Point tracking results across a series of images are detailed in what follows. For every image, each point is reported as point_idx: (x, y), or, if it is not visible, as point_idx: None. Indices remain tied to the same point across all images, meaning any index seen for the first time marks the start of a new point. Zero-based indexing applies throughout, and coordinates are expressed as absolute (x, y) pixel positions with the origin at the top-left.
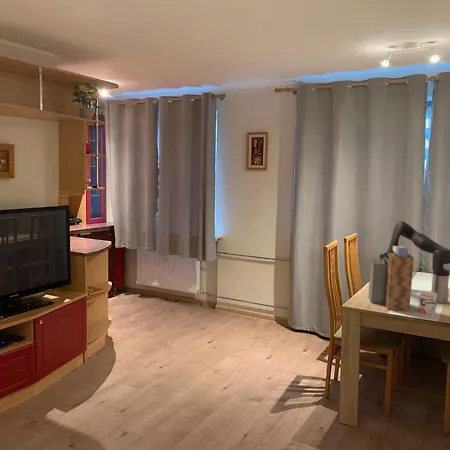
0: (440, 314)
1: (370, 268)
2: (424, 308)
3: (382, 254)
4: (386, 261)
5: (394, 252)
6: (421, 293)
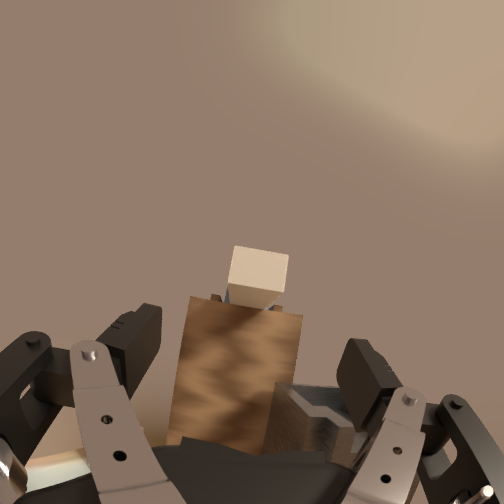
0: (83, 456)
1: (416, 475)
2: None
3: (438, 406)
4: (312, 407)
5: (274, 305)
6: (141, 428)
